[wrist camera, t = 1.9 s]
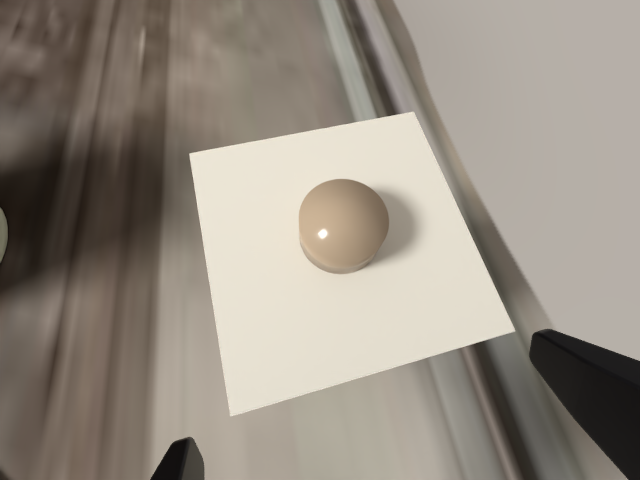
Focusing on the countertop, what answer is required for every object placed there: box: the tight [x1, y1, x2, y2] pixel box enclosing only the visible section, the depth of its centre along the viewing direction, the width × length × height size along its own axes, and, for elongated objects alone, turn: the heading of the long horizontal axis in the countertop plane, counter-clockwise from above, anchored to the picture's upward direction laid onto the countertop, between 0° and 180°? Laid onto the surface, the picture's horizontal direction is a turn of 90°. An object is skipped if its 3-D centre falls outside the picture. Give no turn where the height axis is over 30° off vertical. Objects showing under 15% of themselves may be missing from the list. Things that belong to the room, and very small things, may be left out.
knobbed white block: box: [189, 112, 515, 417], centre depth 13 cm, size 6×6×13 cm
